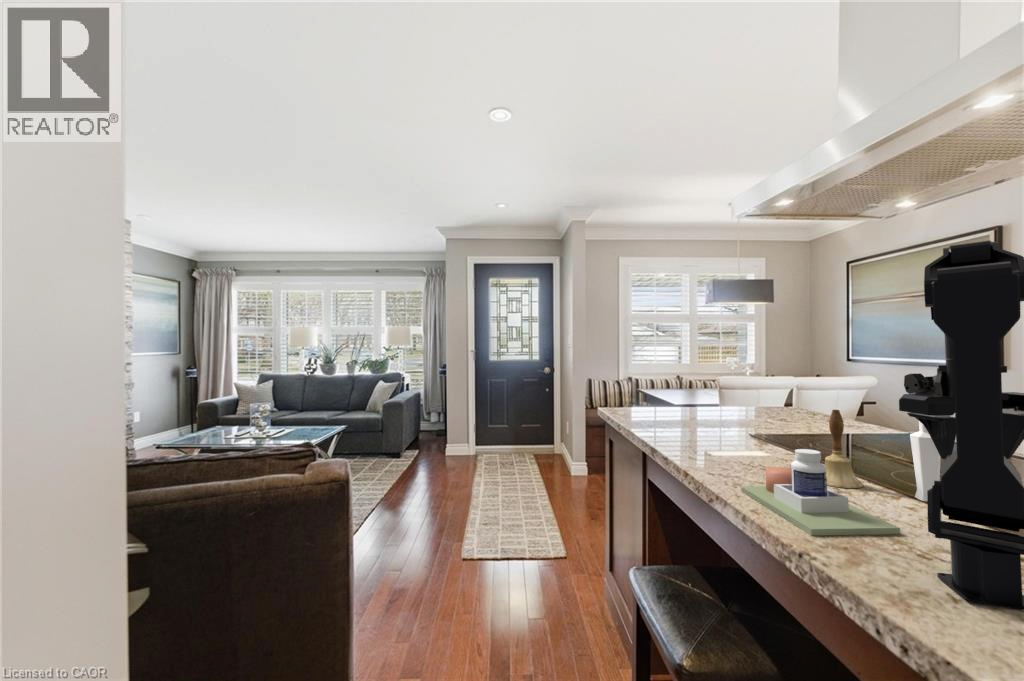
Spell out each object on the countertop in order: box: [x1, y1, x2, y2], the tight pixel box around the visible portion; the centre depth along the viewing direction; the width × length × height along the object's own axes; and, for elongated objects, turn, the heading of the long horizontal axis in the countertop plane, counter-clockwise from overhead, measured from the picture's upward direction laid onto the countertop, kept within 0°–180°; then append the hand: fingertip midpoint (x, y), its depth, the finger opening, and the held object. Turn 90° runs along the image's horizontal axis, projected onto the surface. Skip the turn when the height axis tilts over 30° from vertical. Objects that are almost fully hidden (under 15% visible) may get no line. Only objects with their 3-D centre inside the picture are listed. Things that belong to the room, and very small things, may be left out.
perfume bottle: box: [909, 420, 942, 502], centre depth 85 cm, size 5×4×15 cm
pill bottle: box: [790, 448, 828, 497], centre depth 81 cm, size 5×5×10 cm
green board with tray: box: [740, 466, 901, 536], centre depth 81 cm, size 22×14×5 cm, turn 179°
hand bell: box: [824, 409, 864, 489], centre depth 97 cm, size 8×8×16 cm
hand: (975, 458), depth 69 cm, fingers open, 9 cm apart
